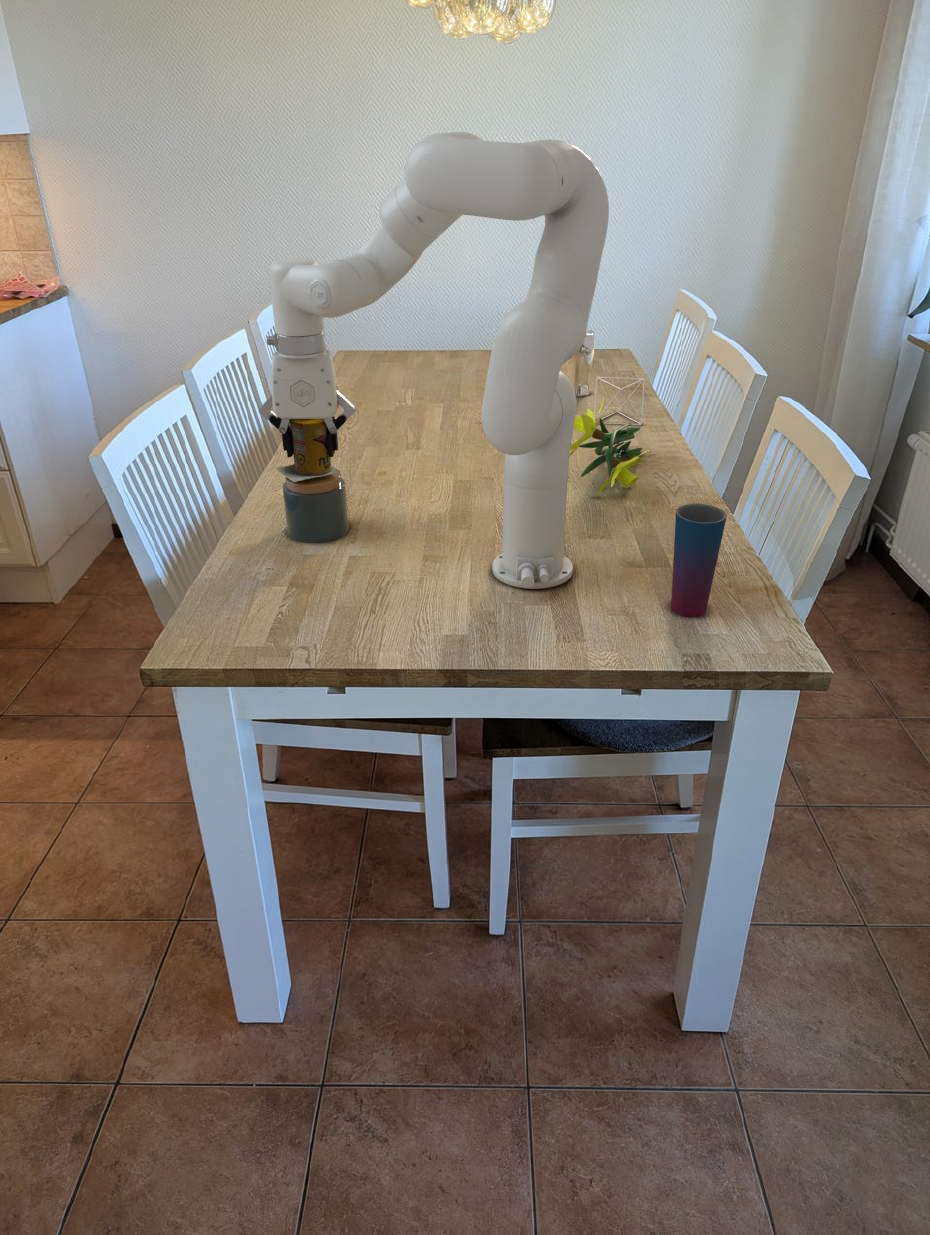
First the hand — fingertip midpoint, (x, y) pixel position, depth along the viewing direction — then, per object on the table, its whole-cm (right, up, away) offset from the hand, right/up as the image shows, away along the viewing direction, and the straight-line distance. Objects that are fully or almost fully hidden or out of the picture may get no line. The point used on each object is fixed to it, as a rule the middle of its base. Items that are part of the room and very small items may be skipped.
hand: (311, 453), depth 151 cm
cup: (+58, -26, -18) cm, 66 cm away
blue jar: (0, -12, +7) cm, 14 cm away
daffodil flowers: (+53, 0, +28) cm, 60 cm away
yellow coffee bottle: (-1, -3, +2) cm, 3 cm away
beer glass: (+53, +29, +79) cm, 99 cm away
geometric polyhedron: (+60, +18, +60) cm, 87 cm away
